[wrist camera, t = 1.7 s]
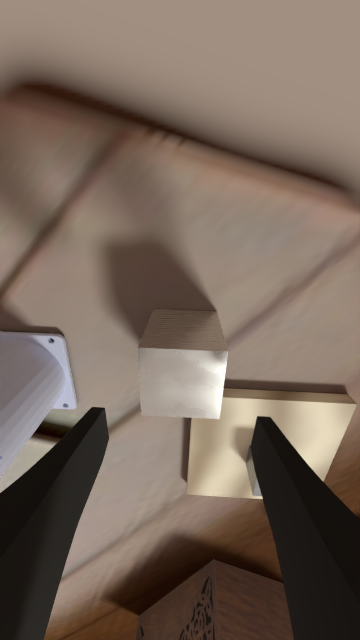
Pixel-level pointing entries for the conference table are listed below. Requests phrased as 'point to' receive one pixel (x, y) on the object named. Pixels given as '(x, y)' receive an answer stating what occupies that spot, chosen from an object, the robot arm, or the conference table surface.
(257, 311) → the conference table surface
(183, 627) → the tissue box cover
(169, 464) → the conference table surface
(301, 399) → the board
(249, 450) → the post
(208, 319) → the brushed grey cube
